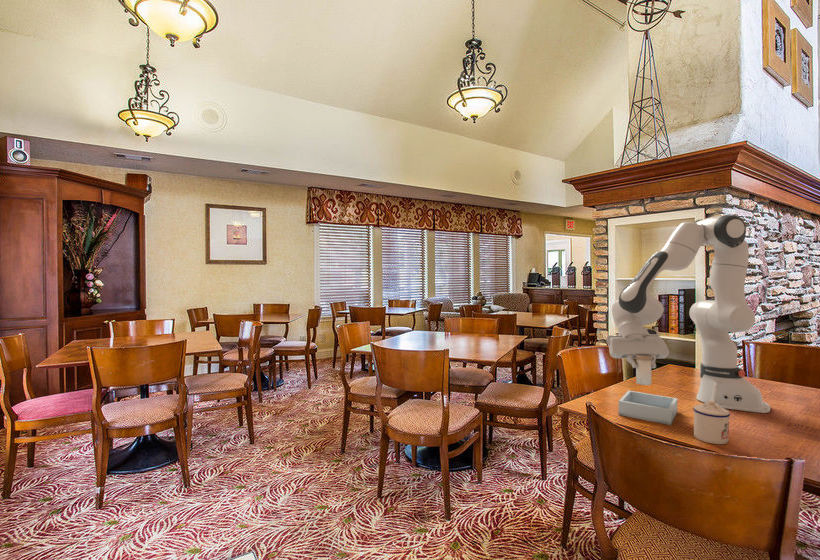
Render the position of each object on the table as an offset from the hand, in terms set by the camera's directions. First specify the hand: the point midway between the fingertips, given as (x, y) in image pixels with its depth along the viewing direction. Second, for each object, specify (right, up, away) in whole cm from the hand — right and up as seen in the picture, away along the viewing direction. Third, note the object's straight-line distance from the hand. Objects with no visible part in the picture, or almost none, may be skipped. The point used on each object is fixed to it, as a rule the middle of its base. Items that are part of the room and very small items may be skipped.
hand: (644, 367), depth 153 cm
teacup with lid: (+8, -17, -23) cm, 29 cm away
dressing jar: (0, -6, +1) cm, 6 cm away
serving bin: (0, -16, -1) cm, 16 cm away
